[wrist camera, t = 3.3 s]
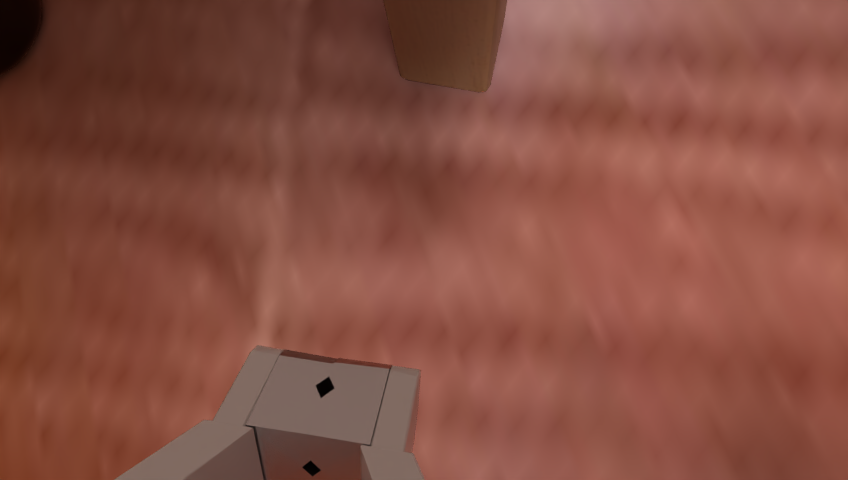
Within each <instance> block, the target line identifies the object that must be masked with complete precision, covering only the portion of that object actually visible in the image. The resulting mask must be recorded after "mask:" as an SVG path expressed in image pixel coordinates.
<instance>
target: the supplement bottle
mask: <svg viewBox="0 0 848 480" xmlns="http://www.w3.org/2000/svg"><path fill="white" fill-rule="evenodd" d="M41 15H42V7H41V0H0V75H2V74H4V73H5V72H7V71H8V70H10V69H11V68H12V67H14V66H15V65H16V64H17V63H18V62H19V61H20V60H21V59H22V58H23V57H24V56H25V54H26V53H27V52H28V50H29V49H30V47H31V46H32V44H33V42H34V40H35V38H36V36H37V33H38V30H39V27H40V22H41Z"/></svg>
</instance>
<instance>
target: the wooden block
mask: <svg viewBox="0 0 848 480" xmlns="http://www.w3.org/2000/svg"><path fill="white" fill-rule="evenodd" d="M383 1H384V6H385V10H386V15H387V19H388V23H389V28H390V32H391V36H392V41H393V45H394V50H395V54H396V58H397V63H398V67H399V72H400V76H401V77H403V78H405V79H407V80H411V81H417V82H423V83H429V84H434V85H440V86H446V87H452V88H458V89H463V90H469V91H475V92H485V91H486V90H487V89H488V88H489V86H490V85H491V80H492V75H493V70H494V66H495V61H496V56H497V51H498V46H499V42H500V37H501V32H502V27H503V22H504V18H505V11H506V4H507V0H383Z"/></svg>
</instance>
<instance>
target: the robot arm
mask: <svg viewBox="0 0 848 480" xmlns="http://www.w3.org/2000/svg"><path fill="white" fill-rule="evenodd" d="M420 378H421V370H419V369H412V368H405V367H398V366H392V365H388V364H380V363H373V362H365V361H358V360H350V359H343V358H338V359H336V358H330V357H325V356H319V355H313V354H308V353H302V352H296V351H290V350H283V349H277V348H271V347H265V346H259V345H257V346H256V347H255V348H254V349H253V350H252V351H251V352H250V354H249V355H248V357H247V359H246V361H245V363H244V365H243V366H242V368H241V370H240V372H239V374H238V375H237V377H236V379H235V381H234V383H233V384H232V386H231V388H230V390H229V392H228V393H227V395H226V397H225V399H224V401H223V403H222V404H221V406H220V408H219V410H218V412H217V413H216V415H215V417H214V419H213V421H211V420H203V421H201V422H200V423H198V424H197V425H195V426H194V427H192V428H191V429H189V430H188V431H186V432H185V433H183V434H182V435H180V436H179V437H177V438H176V439H174V440H173V441H171V442H170V443H168V444H167V445H165V446H164V447H162V448H161V449H159V450H158V451H156V452H155V453H153V454H152V455H150V456H149V457H147V458H146V459H144V460H143V461H141V462H140V463H138V464H137V465H135V466H134V467H132V468H131V469H130V470H128V471H127V472H125V473H124V474H122V475H121V476H119V477H118V478H116V479H115V480H425V479H424V477H423V474H422V472H421V470H420V467H419V465H418V463H417V461H416V458H415V456H414V454H413V453H412V450H413V445H414V439H415V430H416V422H417V414H418V403H419V390H420Z"/></svg>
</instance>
